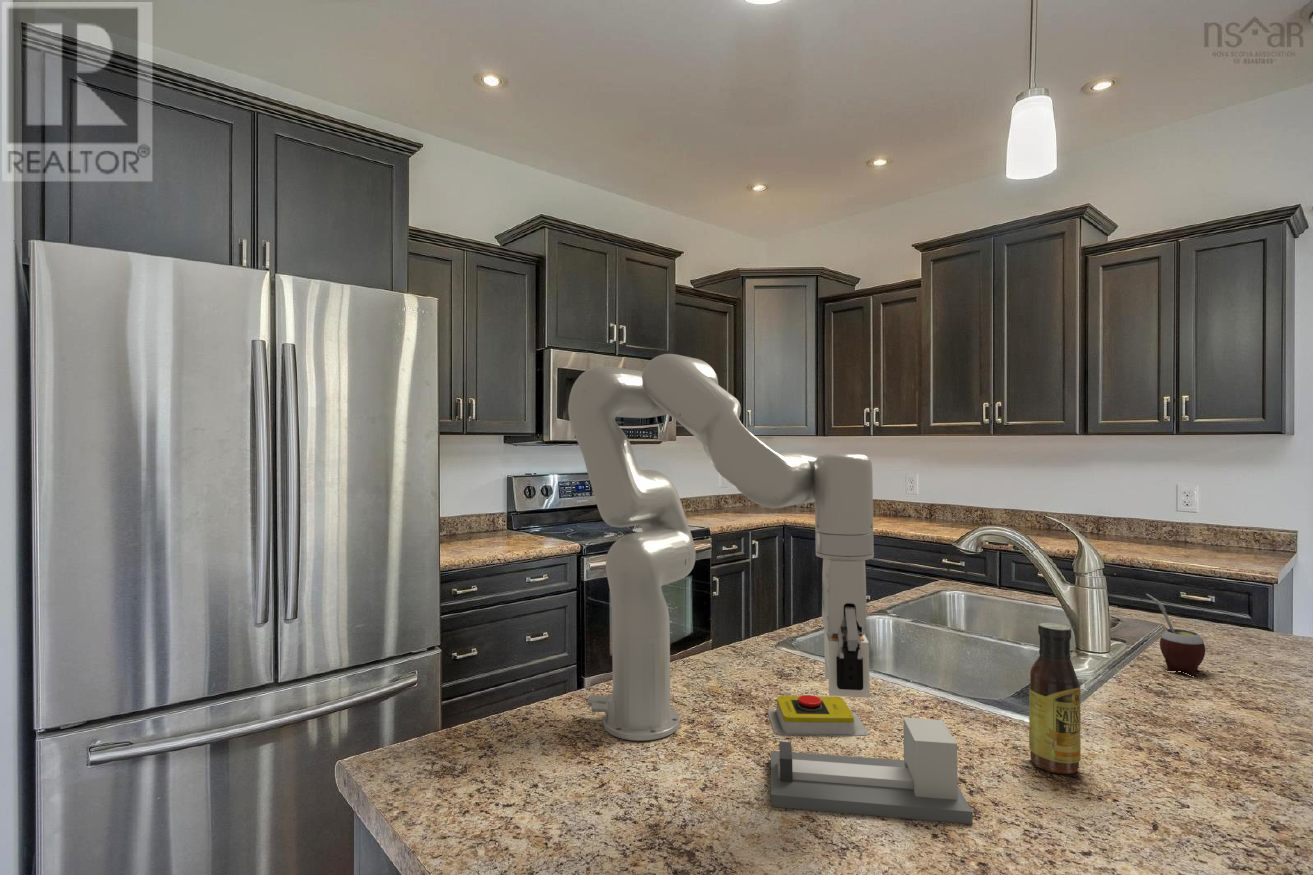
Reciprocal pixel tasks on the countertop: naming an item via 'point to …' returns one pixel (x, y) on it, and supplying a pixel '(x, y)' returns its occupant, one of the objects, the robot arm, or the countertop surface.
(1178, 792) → the countertop surface
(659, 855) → the countertop surface
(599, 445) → the robot arm
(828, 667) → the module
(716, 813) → the countertop surface
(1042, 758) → the sauce bottle
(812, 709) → the emergency button
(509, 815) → the countertop surface
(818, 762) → the rail board
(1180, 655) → the mate gourd
